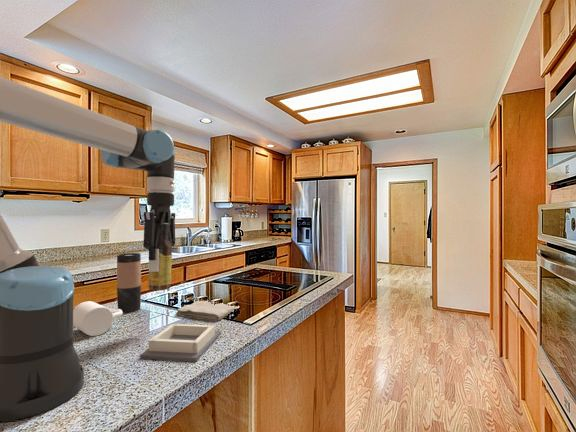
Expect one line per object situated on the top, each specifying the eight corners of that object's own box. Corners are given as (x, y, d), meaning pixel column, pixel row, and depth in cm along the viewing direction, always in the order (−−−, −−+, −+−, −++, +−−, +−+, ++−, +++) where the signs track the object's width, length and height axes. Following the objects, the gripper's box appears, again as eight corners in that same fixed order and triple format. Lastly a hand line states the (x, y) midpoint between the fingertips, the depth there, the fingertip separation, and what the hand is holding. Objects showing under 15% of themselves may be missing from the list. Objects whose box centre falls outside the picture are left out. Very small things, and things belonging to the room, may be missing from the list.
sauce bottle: (145, 289, 90) (145, 222, 90) (165, 286, 95) (166, 222, 95) (154, 292, 85) (155, 223, 86) (175, 289, 90) (176, 223, 90)
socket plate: (196, 361, 69) (196, 347, 69) (140, 358, 71) (139, 344, 71) (220, 334, 85) (220, 322, 85) (173, 332, 87) (173, 320, 87)
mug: (82, 340, 82) (82, 310, 82) (69, 331, 88) (69, 304, 88) (128, 327, 91) (127, 300, 91) (113, 320, 97) (113, 295, 97)
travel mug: (145, 308, 109) (145, 253, 109) (124, 314, 102) (124, 256, 103) (133, 305, 113) (133, 252, 113) (112, 311, 107) (112, 254, 107)
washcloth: (196, 307, 113) (196, 298, 113) (238, 312, 107) (238, 303, 107) (173, 316, 102) (173, 307, 102) (219, 323, 95) (219, 313, 95)
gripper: (154, 189, 80) (153, 275, 80) (187, 195, 99) (186, 265, 99) (128, 189, 81) (127, 275, 81) (165, 195, 100) (165, 264, 100)
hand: (160, 269), depth 90 cm, fingers closed on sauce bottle, 6 cm apart
